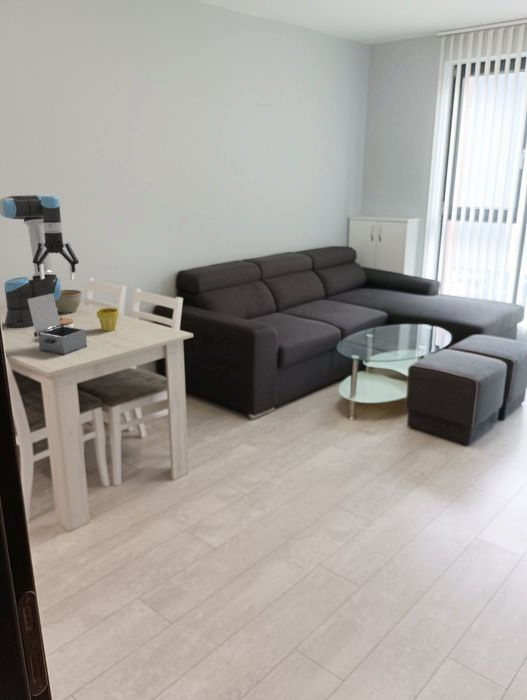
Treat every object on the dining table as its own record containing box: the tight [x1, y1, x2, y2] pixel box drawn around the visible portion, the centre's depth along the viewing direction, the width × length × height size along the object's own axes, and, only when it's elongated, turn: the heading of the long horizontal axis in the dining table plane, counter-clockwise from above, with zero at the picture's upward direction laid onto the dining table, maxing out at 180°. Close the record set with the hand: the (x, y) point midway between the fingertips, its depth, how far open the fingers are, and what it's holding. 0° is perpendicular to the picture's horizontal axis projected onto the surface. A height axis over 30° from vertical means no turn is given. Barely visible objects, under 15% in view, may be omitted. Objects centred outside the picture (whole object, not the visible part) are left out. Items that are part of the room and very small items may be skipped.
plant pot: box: [96, 307, 120, 332], centre depth 286 cm, size 10×10×10 cm
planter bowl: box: [55, 289, 83, 314], centre depth 321 cm, size 16×16×11 cm
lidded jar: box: [59, 316, 75, 328], centre depth 274 cm, size 11×11×9 cm
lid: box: [27, 293, 60, 333], centre depth 255 cm, size 15×14×3 cm
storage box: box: [33, 324, 88, 356], centre depth 255 cm, size 15×17×8 cm
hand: (57, 279), depth 262 cm, fingers open, 13 cm apart
